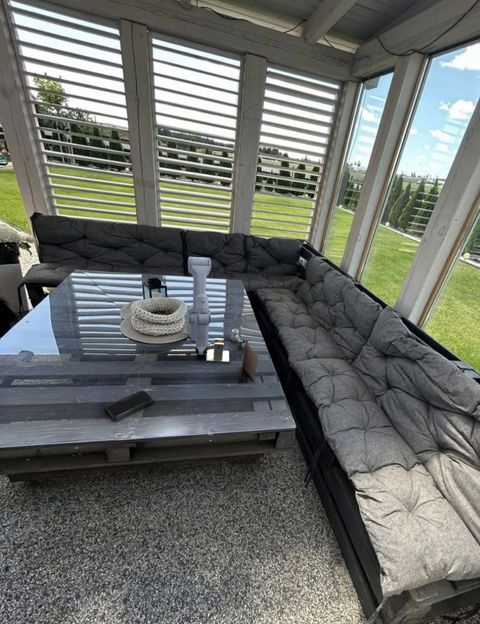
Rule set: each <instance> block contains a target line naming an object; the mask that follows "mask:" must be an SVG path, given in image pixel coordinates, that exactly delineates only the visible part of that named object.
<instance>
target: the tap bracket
mask: <svg viewBox="0 0 480 624" xmlns="http://www.w3.org/2000/svg"><path fill="white" fill-rule="evenodd" d="M220 340H221V342H222V343H215V342H217V341H220ZM224 342H225V339H224V338H218V337H216V338H214V344H213V345H214V348H213V349H209V350H207V353H206V362H214V363H215V362H217V363H230V351H229V350H224V346H225V343H224Z"/></svg>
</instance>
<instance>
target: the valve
mask: <svg viewBox="0 0 480 624" xmlns="http://www.w3.org/2000/svg"><path fill="white" fill-rule="evenodd" d="M239 335H240V330H238V329H236V328H234V329H232V330H231V333H230V340H231V342H234V343H236V342H237V343H238V344H237V345H236V346H237V349H238V351H241V350H242V351H243V346H244V349H245V345H246V343H247V344H248V345H249V346H250V344H249V343H248V342H249V341H248V339H246V340H245V339H241V337H240V336H239Z"/></svg>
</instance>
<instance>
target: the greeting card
mask: <svg viewBox="0 0 480 624" xmlns="http://www.w3.org/2000/svg"><path fill="white" fill-rule="evenodd" d="M247 343H248V342H247ZM247 343H245V348H244V346H242V347H243V350H242V358H241V359H242V360H241V362H242V363H241V367H240V371H239V378H241V377H242V371H243V369H244V371H245V372H246V373H247V375H249V377H250V378H251V380H252V381H255V378H256V372H257V368H258V363H259V357H260V356H259V354H258V353H256V351H255V350H254V349H253V348H252V347H251V346H250V344H249V343H248V344H249V345H248V344H247Z"/></svg>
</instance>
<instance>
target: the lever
mask: <svg viewBox="0 0 480 624" xmlns="http://www.w3.org/2000/svg"><path fill="white" fill-rule="evenodd" d="M214 343H222V342H221V340H220V341H217V342H215V341H214ZM205 349H207V350H213V349H214V344H212V345H208V346H207V347H206V348H205Z"/></svg>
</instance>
